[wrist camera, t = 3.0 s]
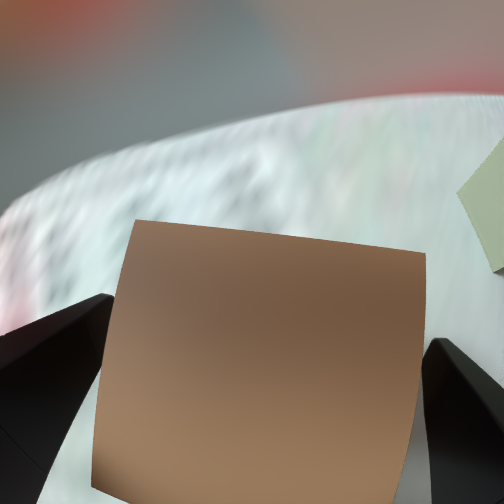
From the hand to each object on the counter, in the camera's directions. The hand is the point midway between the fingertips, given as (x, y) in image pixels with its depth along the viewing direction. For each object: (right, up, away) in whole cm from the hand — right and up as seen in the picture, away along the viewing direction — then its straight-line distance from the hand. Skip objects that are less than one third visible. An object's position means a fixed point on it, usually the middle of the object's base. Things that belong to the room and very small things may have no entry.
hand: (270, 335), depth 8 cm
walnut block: (0, -3, +6) cm, 7 cm away
